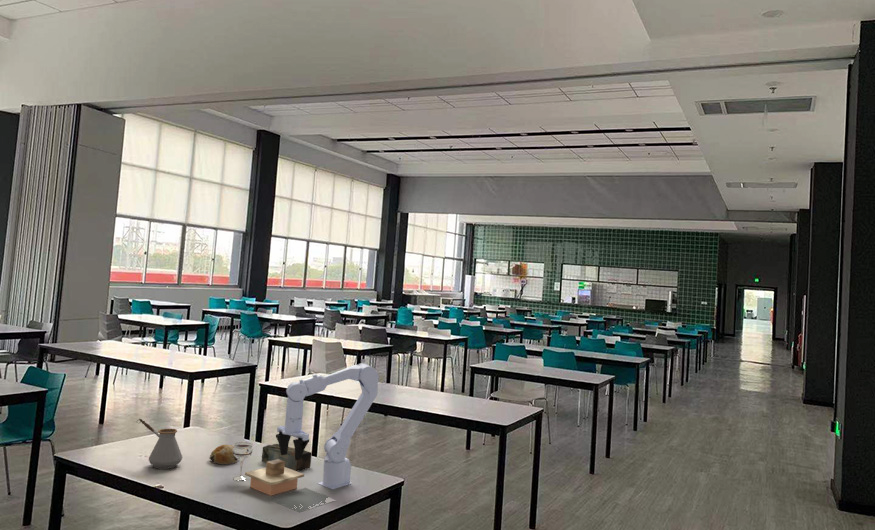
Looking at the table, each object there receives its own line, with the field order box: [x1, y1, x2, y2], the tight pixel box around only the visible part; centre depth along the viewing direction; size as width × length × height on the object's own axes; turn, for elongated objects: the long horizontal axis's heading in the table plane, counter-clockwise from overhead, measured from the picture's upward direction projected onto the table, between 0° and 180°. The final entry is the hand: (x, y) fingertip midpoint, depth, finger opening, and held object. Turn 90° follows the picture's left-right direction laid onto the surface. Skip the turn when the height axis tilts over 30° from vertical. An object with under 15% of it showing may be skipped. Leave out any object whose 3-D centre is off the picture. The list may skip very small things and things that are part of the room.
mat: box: [267, 487, 329, 513], centre depth 207 cm, size 16×16×1 cm
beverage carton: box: [261, 443, 312, 472], centre depth 245 cm, size 8×19×7 cm, turn 59°
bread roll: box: [209, 444, 239, 465], centre depth 244 cm, size 10×10×8 cm
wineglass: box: [232, 441, 254, 482], centre depth 225 cm, size 7×7×12 cm
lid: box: [244, 459, 305, 485], centre depth 216 cm, size 14×14×5 cm
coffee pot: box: [136, 418, 183, 470], centre depth 235 cm, size 21×12×15 cm, turn 65°
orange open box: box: [249, 477, 299, 497], centre depth 216 cm, size 11×11×4 cm
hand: (290, 457), depth 219 cm, fingers open, 7 cm apart
